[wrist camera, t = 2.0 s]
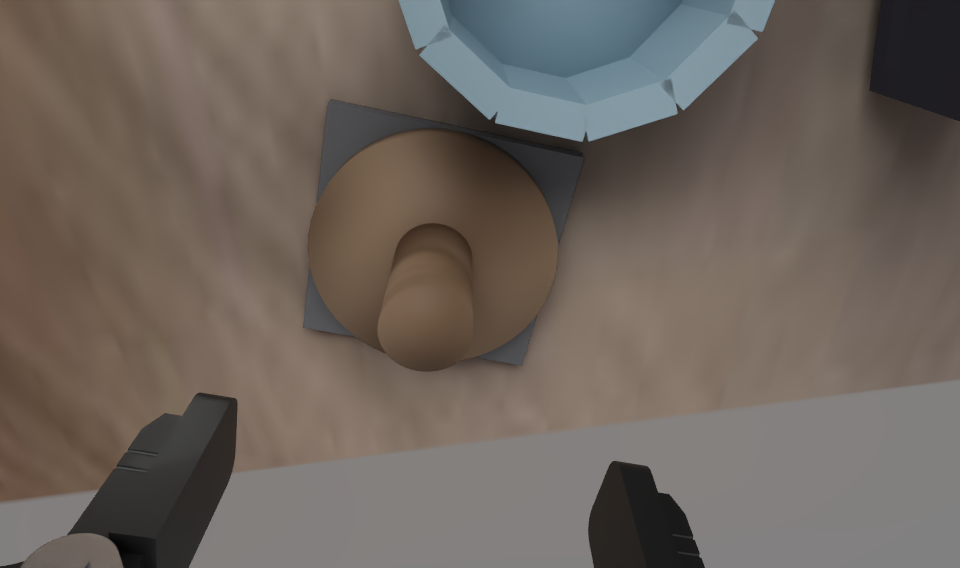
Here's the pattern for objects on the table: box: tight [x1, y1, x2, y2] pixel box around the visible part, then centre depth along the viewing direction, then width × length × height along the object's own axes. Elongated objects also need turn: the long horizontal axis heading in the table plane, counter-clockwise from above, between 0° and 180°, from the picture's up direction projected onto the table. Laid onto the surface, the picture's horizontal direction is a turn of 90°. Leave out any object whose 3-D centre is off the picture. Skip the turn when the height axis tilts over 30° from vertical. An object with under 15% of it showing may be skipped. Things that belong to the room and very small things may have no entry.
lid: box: [308, 128, 558, 371], centre depth 21 cm, size 9×9×6 cm
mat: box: [303, 99, 584, 366], centre depth 24 cm, size 9×9×1 cm
